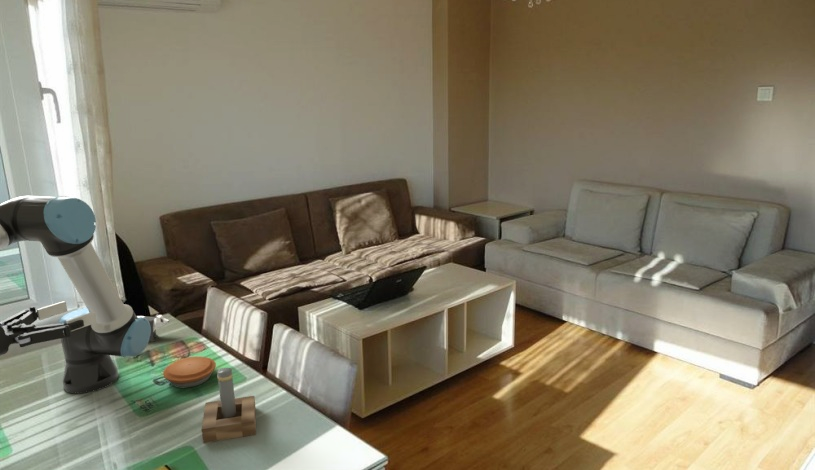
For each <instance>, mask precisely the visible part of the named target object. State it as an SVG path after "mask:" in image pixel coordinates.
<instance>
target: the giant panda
mask: <svg viewBox="0 0 815 470" xmlns="http://www.w3.org/2000/svg"><path fill="white" fill-rule="evenodd" d="M136 316H137V317H138V318H139V317H143V318H145V319H147V320H148V321H149V323H150V327H151V334H150V339H149V342H148V343H152V342H155V341H156V339H155V338H159V335H158V334H157V331H156V330H157V329H161V328H163V327H164V326H166V325H168V324H169V323H170V319H168V318H166V317H165V316H163V315H162V314H159V313H156V315H155V316H144V315H136Z"/></svg>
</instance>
